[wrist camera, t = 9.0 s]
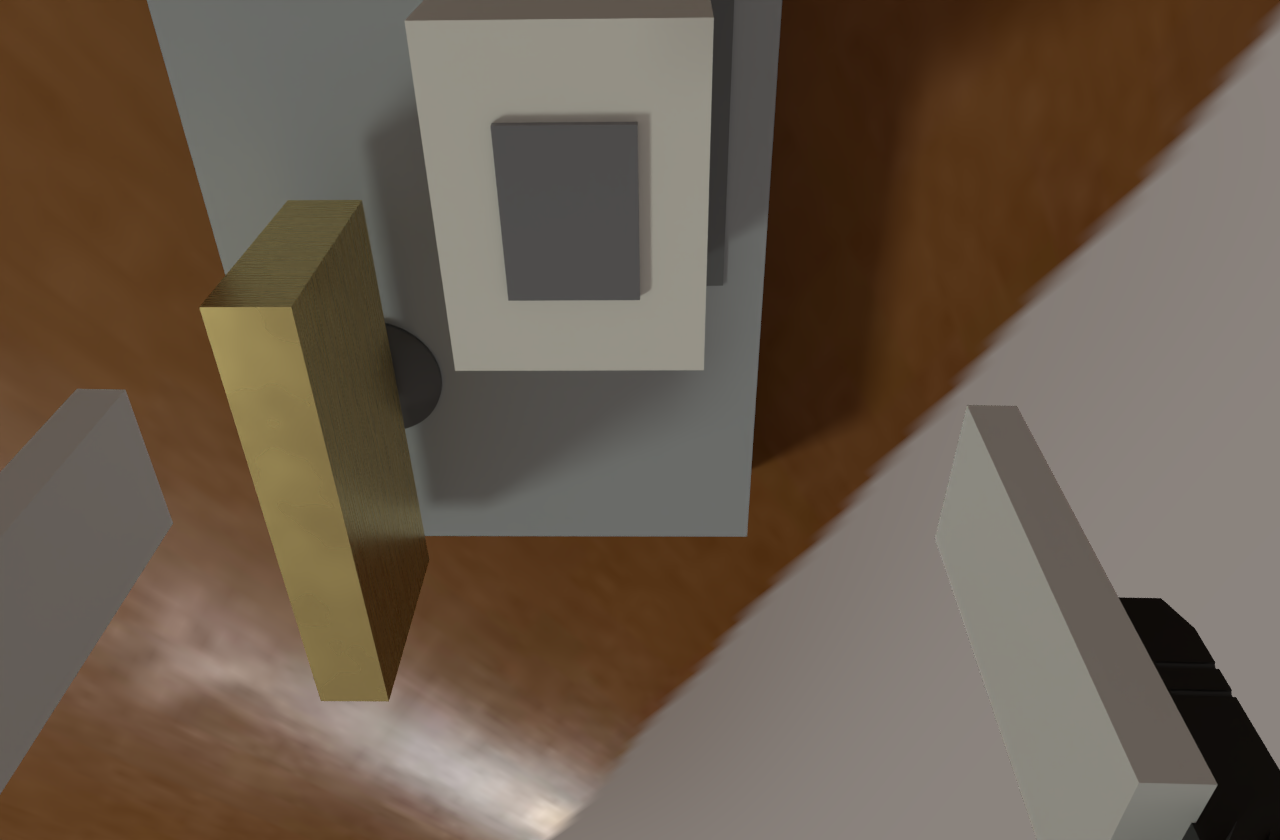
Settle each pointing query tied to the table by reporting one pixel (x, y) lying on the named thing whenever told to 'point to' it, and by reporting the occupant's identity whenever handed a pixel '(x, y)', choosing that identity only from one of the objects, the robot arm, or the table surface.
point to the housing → (412, 284)
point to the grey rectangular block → (568, 178)
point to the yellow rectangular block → (325, 438)
